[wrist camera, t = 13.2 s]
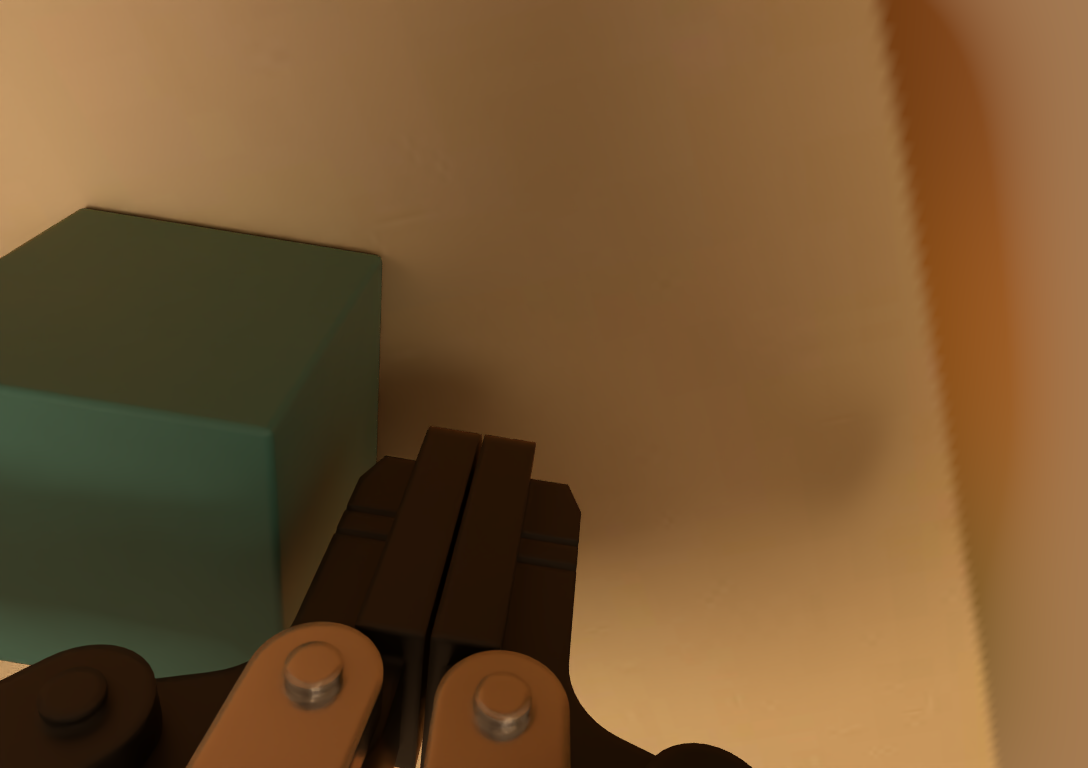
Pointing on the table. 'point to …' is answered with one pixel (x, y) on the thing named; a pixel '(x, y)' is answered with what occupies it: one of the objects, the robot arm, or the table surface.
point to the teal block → (176, 434)
